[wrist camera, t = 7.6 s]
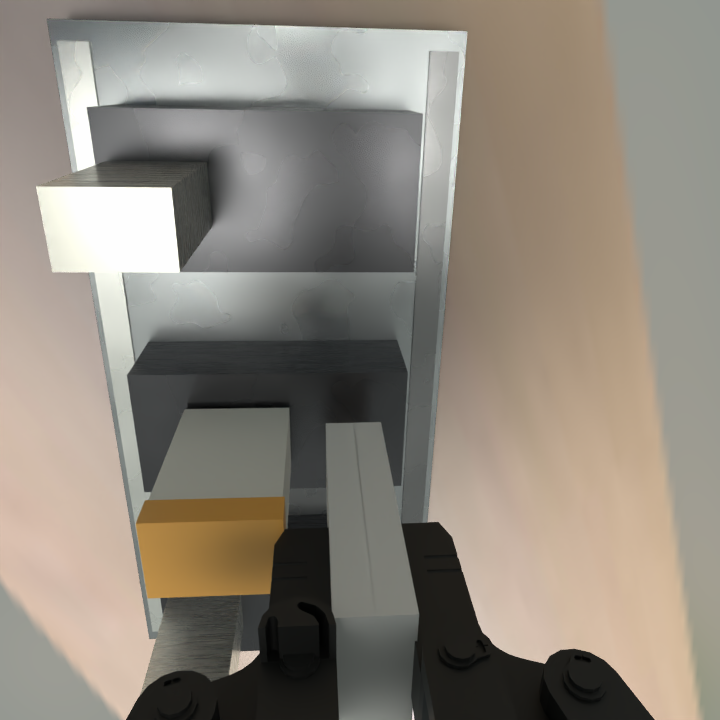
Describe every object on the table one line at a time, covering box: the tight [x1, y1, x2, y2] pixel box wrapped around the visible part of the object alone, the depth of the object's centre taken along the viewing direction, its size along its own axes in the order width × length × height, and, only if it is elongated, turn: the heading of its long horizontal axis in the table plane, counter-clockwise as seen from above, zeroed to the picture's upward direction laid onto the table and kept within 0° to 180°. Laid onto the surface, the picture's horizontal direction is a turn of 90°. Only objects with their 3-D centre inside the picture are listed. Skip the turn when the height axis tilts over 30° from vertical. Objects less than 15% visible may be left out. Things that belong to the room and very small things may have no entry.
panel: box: [36, 19, 467, 695], centre depth 18 cm, size 22×11×8 cm, turn 179°
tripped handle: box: [136, 408, 291, 598], centre depth 16 cm, size 2×3×5 cm
